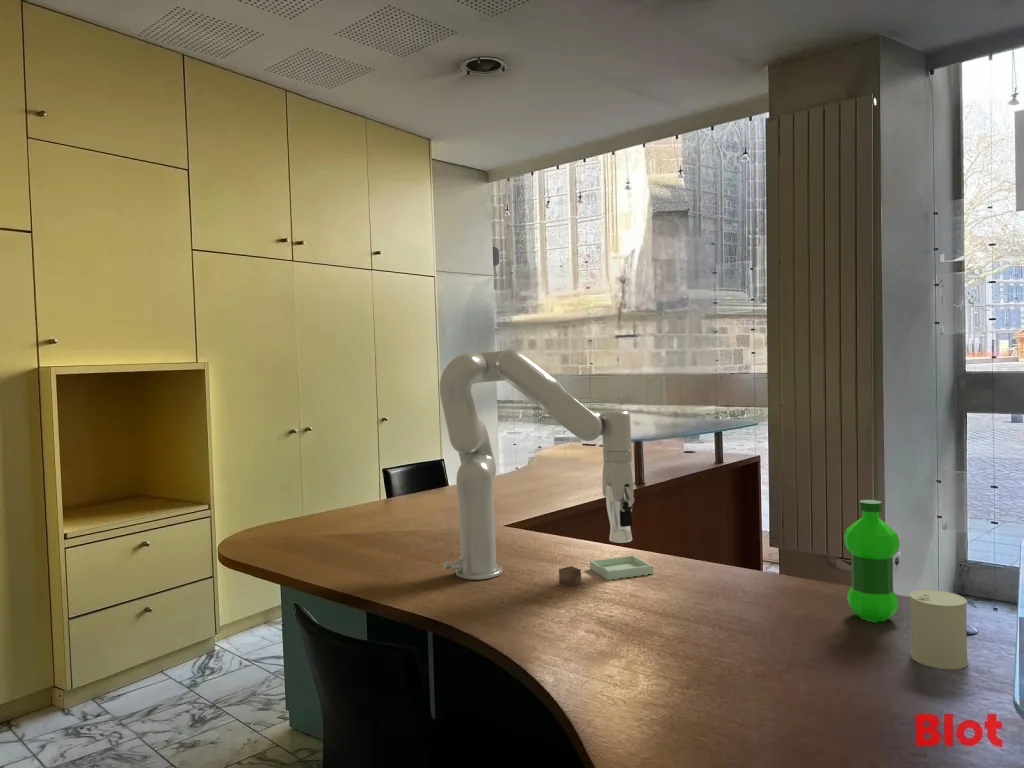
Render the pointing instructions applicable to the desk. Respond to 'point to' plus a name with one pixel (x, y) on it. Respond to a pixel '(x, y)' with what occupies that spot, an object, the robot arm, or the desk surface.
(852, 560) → the plastic bottle
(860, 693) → the desk surface
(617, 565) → the tray
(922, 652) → the can
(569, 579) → the walnut block
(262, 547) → the desk surface
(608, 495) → the beer glass
